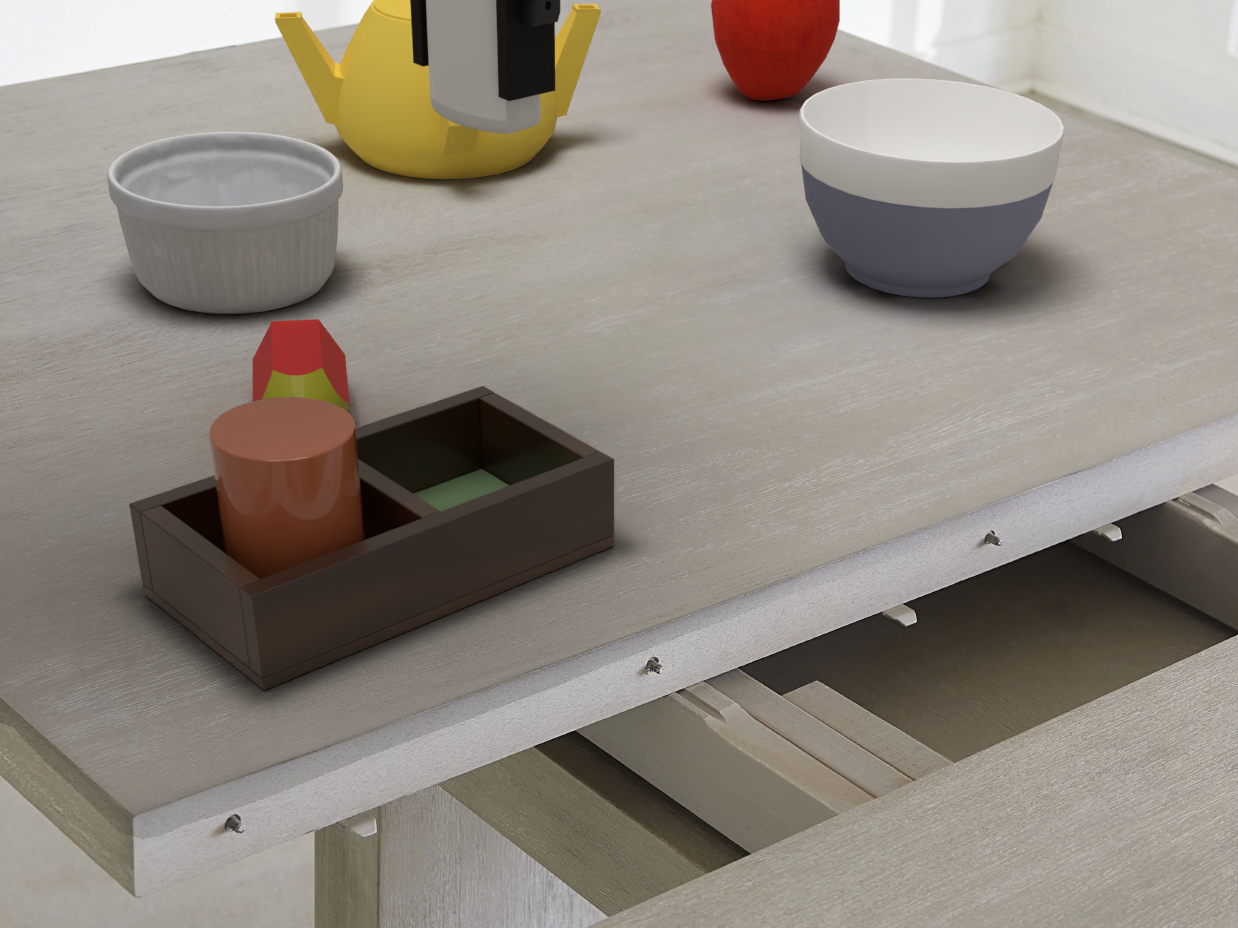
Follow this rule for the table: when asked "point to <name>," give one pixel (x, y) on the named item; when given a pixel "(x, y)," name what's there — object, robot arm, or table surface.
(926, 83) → the bowl
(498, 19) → the robot arm
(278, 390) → the pencil
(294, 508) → the glossy orange cylinder
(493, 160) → the teapot
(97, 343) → the table surface
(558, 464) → the divided wooden box
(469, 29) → the eye dropper bottle
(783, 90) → the apple
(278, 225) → the ramekin
